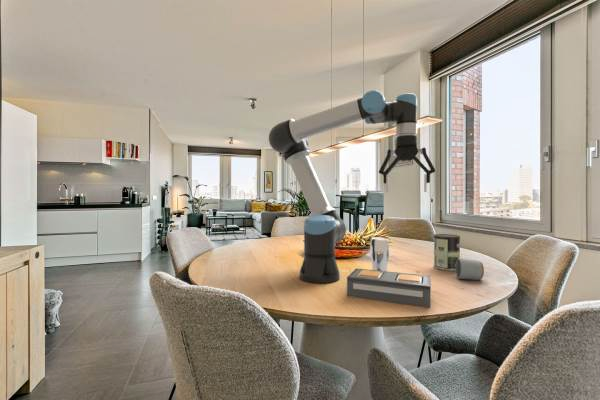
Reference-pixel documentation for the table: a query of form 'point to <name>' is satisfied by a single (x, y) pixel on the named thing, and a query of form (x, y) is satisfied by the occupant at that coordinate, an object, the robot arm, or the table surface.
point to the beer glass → (379, 253)
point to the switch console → (390, 288)
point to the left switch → (370, 274)
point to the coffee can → (446, 251)
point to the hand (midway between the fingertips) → (406, 192)
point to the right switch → (409, 278)
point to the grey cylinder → (469, 269)
